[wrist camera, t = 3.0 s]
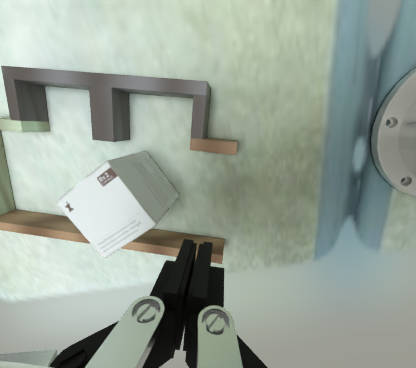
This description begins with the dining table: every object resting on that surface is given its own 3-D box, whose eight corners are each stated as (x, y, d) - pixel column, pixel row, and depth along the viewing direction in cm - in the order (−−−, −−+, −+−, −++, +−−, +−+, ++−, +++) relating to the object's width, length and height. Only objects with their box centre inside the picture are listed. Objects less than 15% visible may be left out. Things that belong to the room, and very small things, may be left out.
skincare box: (141, 221, 24) (102, 261, 17) (106, 179, 23) (50, 203, 16) (181, 194, 22) (158, 225, 15) (146, 148, 21) (104, 159, 14)
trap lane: (243, 90, 19) (245, 84, 16) (223, 246, 23) (221, 263, 20) (-20, 69, 21) (-60, 61, 18) (9, 215, 26) (-19, 227, 23)
